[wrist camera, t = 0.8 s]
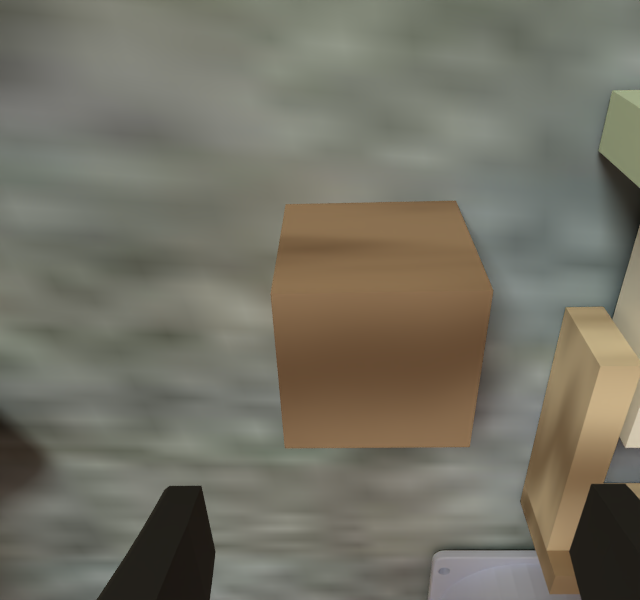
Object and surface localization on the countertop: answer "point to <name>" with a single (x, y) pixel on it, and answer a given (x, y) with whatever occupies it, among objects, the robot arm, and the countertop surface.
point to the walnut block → (378, 325)
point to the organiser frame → (576, 435)
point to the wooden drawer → (636, 293)
